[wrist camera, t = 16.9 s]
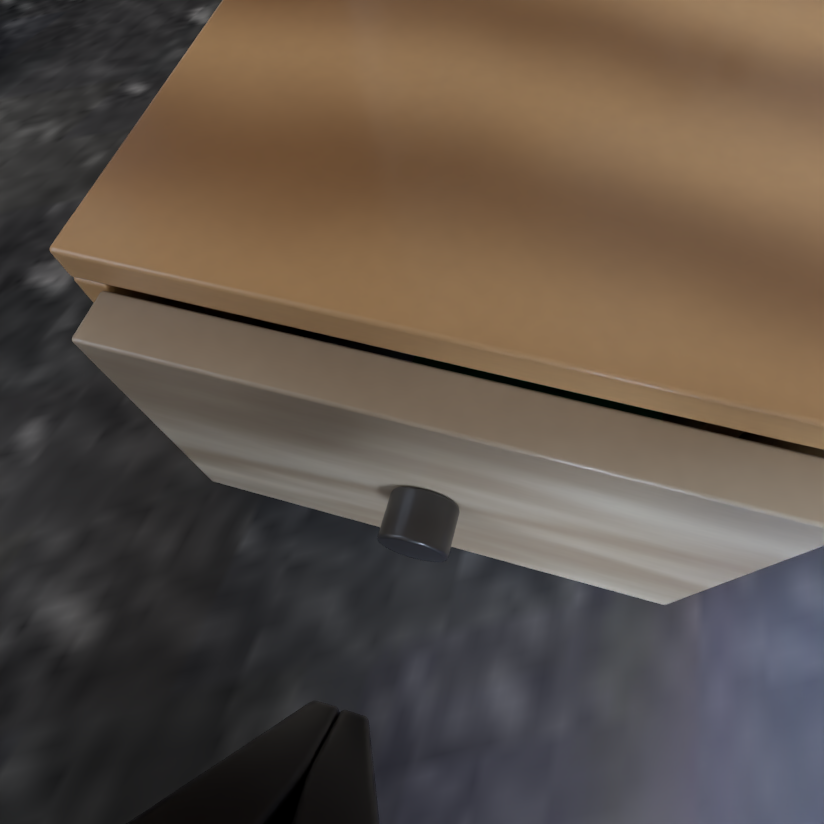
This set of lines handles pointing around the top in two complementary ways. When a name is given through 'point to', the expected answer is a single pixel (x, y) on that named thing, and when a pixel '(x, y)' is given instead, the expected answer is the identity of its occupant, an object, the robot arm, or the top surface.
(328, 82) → the cabinet
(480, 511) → the drawer
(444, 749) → the top surface
